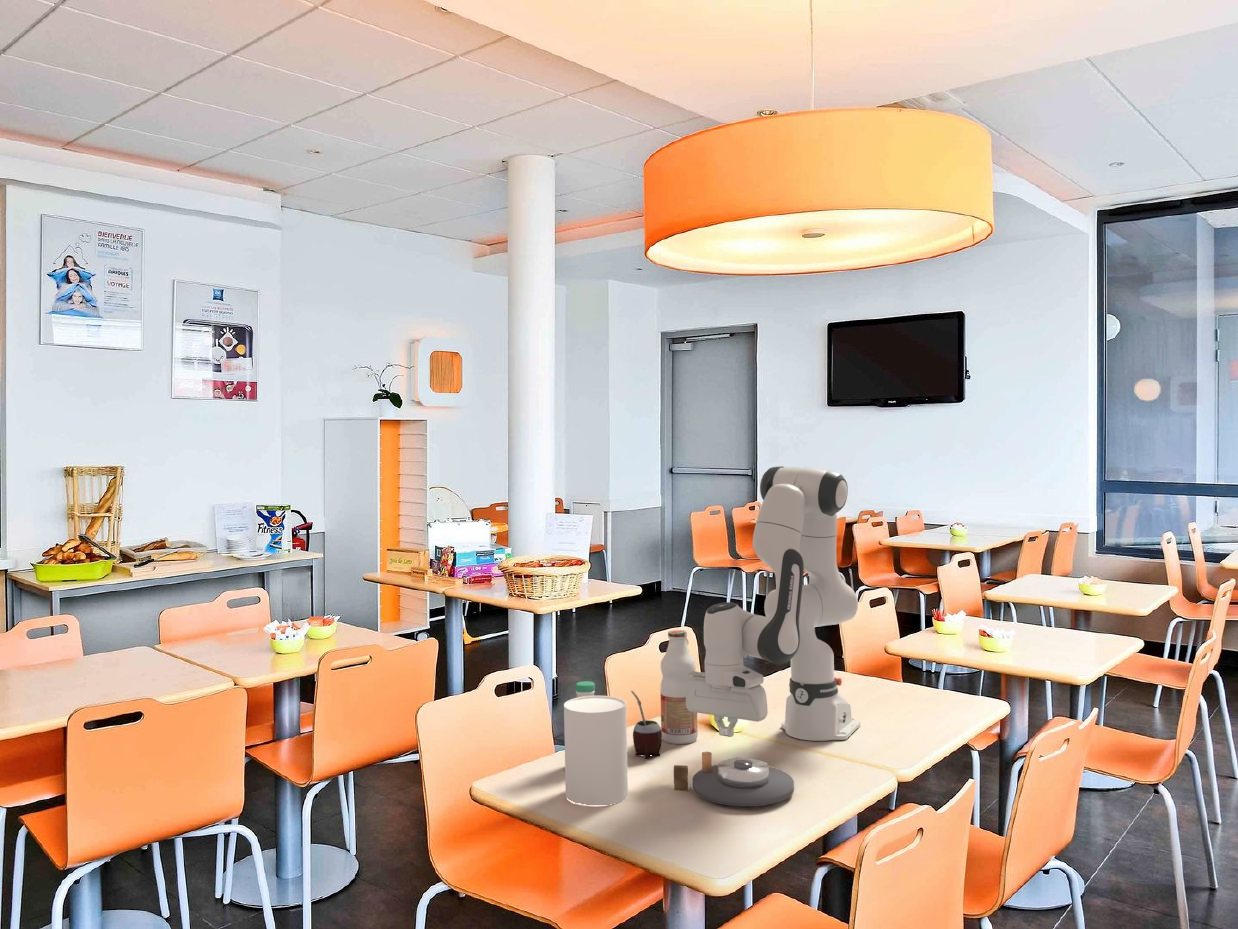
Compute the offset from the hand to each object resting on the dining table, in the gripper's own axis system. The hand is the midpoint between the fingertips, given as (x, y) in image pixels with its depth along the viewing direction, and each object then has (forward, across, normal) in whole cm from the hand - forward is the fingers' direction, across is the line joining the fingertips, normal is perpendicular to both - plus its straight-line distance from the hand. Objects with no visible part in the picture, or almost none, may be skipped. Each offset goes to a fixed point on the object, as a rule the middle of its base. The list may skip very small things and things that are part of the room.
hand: (726, 735), depth 212 cm
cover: (+7, +8, -6) cm, 12 cm away
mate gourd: (+9, -24, +1) cm, 26 cm away
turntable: (+10, +8, -6) cm, 14 cm away
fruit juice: (+8, -25, +16) cm, 31 cm away
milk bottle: (+9, -31, -14) cm, 35 cm away
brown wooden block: (+10, -4, -12) cm, 16 cm away
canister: (+10, -17, -26) cm, 33 cm away
